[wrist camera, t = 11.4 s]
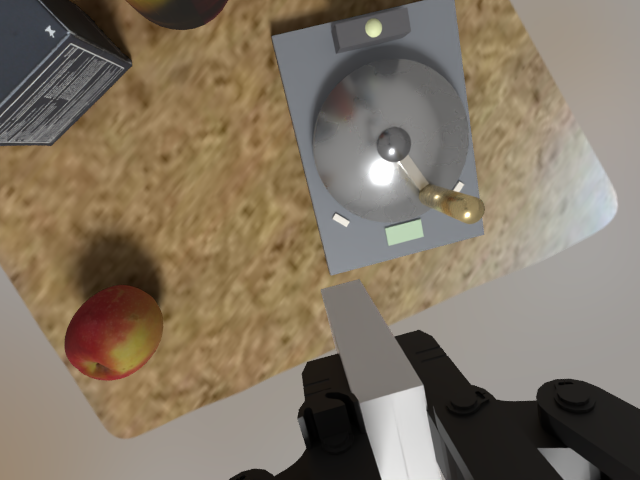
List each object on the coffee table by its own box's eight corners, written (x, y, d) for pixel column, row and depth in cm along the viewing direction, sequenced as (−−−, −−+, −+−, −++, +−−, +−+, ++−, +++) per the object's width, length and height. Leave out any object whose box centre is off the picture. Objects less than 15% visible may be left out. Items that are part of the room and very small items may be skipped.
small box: (73, -2, 32) (-19, -66, 22) (136, 64, 34) (77, 33, 24) (-14, 89, 33) (-141, 67, 23) (51, 148, 35) (-41, 153, 25)
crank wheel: (374, 249, 38) (404, 282, 29) (280, 132, 34) (282, 130, 26) (490, 155, 37) (558, 161, 28) (406, 25, 33) (454, -16, 25)
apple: (72, 305, 38) (21, 346, 31) (141, 261, 38) (107, 292, 30) (123, 361, 40) (87, 414, 33) (189, 320, 40) (169, 363, 32)
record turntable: (271, 40, 34) (271, 27, 30) (445, -1, 35) (467, -19, 31) (328, 270, 40) (334, 284, 36) (476, 231, 41) (498, 240, 37)
